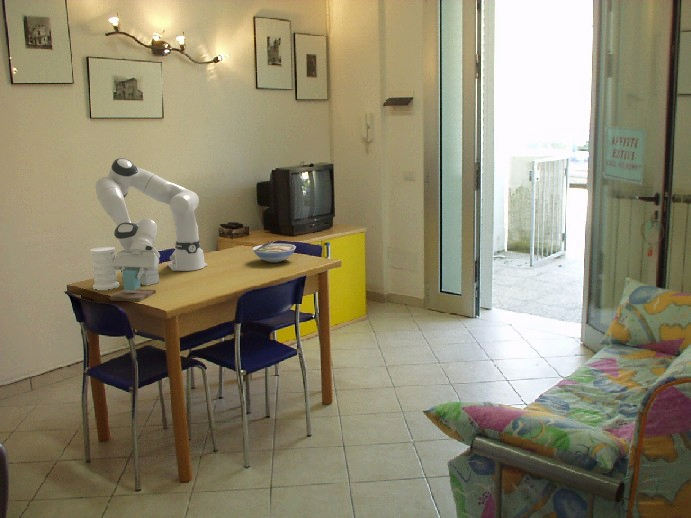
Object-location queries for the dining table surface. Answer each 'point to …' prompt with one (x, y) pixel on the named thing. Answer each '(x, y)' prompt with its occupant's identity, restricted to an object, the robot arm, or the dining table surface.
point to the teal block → (131, 279)
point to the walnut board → (132, 295)
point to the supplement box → (149, 277)
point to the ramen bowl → (274, 251)
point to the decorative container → (104, 268)
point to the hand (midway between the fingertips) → (130, 277)
